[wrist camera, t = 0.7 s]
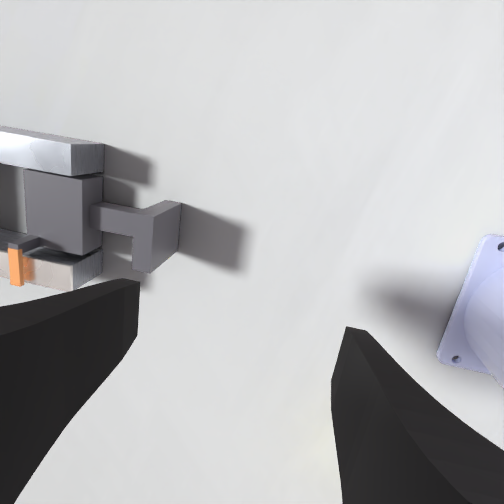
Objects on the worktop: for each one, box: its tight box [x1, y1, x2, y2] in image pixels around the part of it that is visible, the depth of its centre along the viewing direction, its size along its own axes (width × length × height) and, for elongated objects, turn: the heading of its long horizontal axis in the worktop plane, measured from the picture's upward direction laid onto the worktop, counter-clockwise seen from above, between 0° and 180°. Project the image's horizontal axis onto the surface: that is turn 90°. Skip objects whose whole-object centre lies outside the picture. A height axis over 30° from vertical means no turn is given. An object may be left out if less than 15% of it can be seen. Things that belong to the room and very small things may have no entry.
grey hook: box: [8, 169, 182, 286], centre depth 20 cm, size 8×6×4 cm
